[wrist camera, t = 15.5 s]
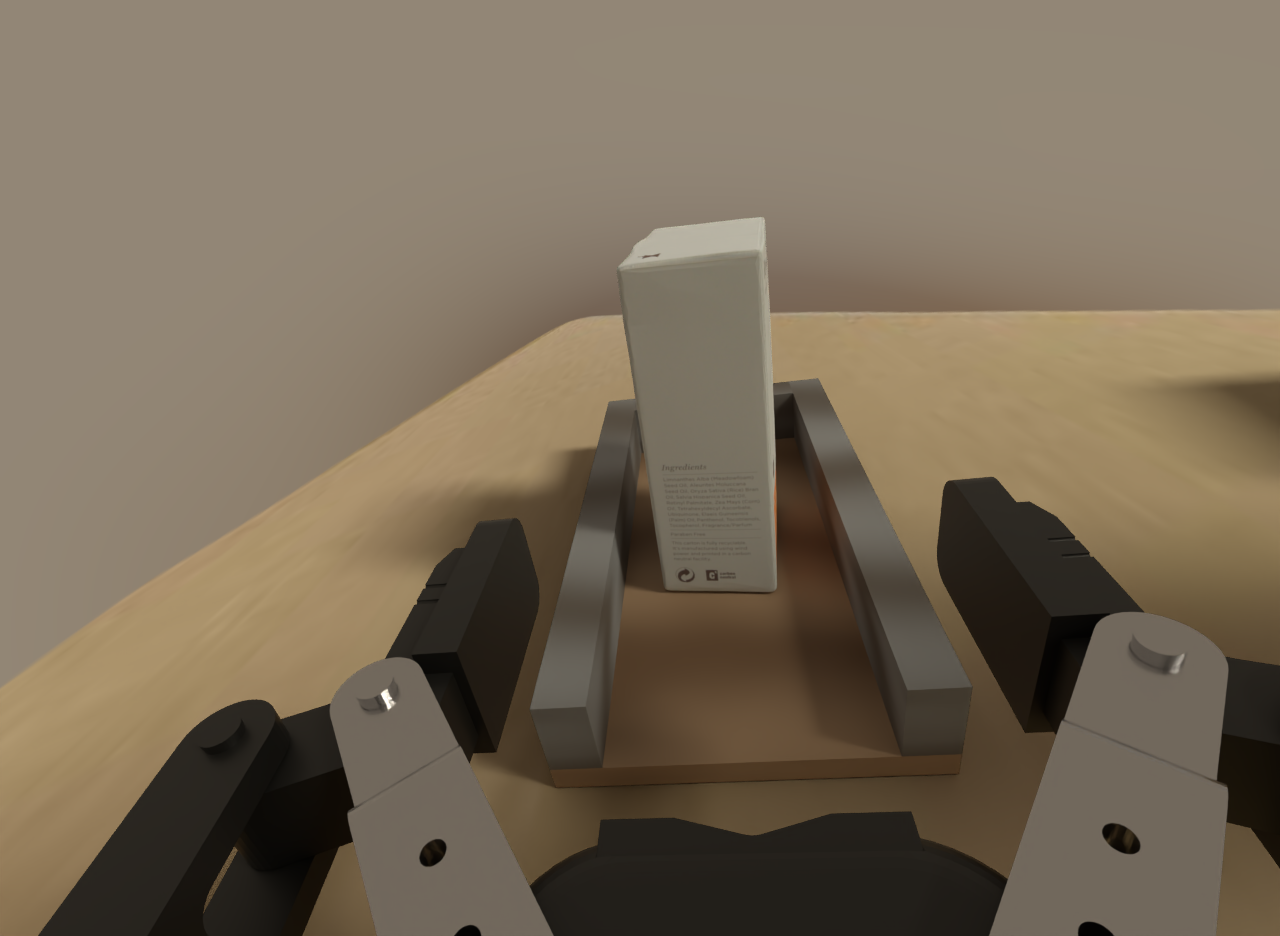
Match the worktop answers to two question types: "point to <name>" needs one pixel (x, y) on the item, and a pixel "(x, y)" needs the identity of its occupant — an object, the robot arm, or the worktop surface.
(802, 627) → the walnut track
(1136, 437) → the worktop surface
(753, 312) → the skincare box
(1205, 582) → the worktop surface
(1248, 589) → the worktop surface
